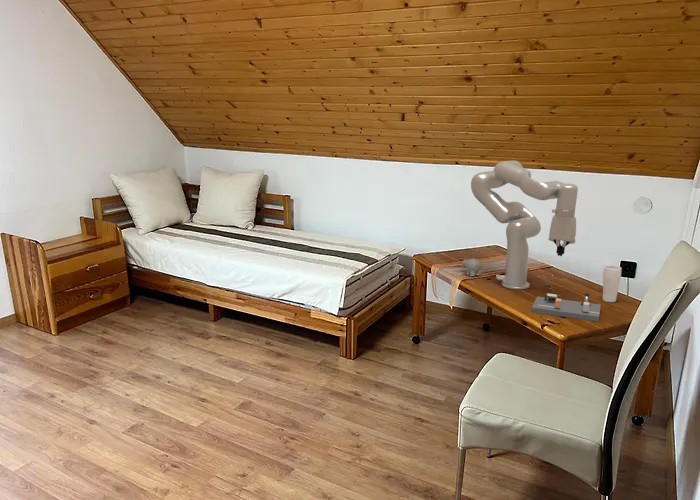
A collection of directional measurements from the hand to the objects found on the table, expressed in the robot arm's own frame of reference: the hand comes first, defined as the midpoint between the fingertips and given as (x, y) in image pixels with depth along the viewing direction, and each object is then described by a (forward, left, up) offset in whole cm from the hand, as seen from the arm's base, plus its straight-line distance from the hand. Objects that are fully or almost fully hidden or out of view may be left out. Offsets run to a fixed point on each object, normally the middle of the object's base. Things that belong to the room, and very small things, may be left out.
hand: (560, 255), depth 232 cm
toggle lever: (+12, -12, -17) cm, 24 cm away
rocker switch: (-1, -12, -15) cm, 19 cm away
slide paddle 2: (+13, -20, -17) cm, 29 cm away
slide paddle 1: (+2, -20, -17) cm, 26 cm away
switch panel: (+5, -16, -19) cm, 25 cm away
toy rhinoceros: (-43, +19, -19) cm, 51 cm away
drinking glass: (+21, +4, -19) cm, 29 cm away
